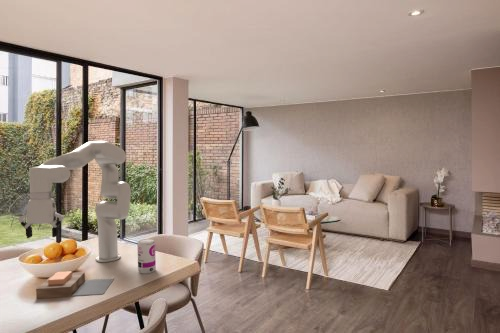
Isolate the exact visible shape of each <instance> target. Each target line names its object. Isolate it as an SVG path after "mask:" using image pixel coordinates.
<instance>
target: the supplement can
mask: <svg viewBox="0 0 500 333" xmlns="http://www.w3.org/2000/svg"><path fill="white" fill-rule="evenodd" d="M156 262H157V261H156V243H155V240H154V239H153V238H144V239H140V240H138V243H137V271H138V273H139V274H144V275H145V274H146V275H148V274H151V273H154V272H155V270H156V269H157V267H156V266H157V264H156Z"/></svg>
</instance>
